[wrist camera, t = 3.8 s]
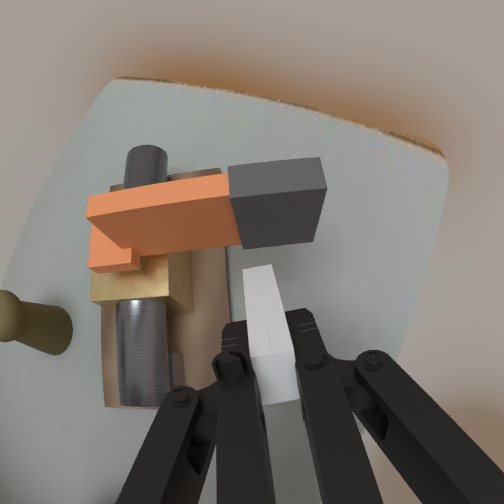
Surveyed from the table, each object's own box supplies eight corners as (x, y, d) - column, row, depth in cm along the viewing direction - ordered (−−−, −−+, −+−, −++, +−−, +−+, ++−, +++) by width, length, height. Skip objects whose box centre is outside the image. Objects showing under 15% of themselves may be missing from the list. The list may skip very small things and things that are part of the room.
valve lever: (105, 278, 24) (45, 239, 16) (108, 237, 25) (54, 188, 18) (313, 256, 24) (330, 201, 16) (305, 212, 25) (316, 145, 17)
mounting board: (111, 405, 30) (104, 406, 28) (115, 191, 39) (110, 186, 37) (239, 405, 29) (237, 407, 28) (221, 174, 38) (219, 167, 37)
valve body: (133, 399, 29) (93, 404, 21) (134, 188, 37) (107, 149, 29) (200, 399, 28) (175, 408, 21) (190, 178, 37) (171, 135, 29)
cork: (42, 301, 34) (-17, 276, 24) (77, 312, 34) (16, 288, 23) (33, 347, 32) (-30, 333, 22) (67, 361, 32) (3, 351, 21)
